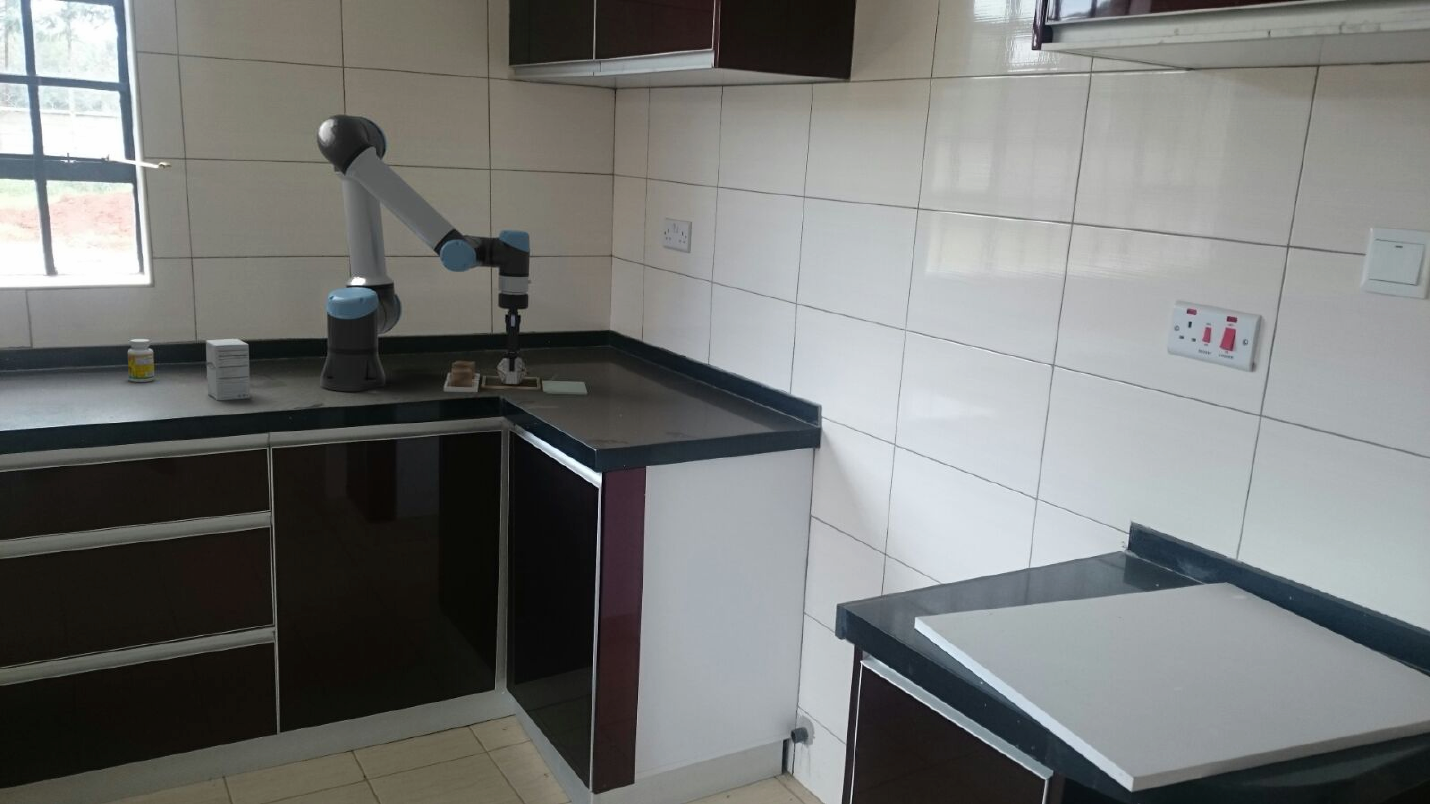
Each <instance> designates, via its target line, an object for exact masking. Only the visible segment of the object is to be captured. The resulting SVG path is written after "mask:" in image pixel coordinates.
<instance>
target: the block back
mask: <svg viewBox="0 0 1430 804" xmlns="http://www.w3.org/2000/svg"><path fill="white" fill-rule="evenodd" d="M475 368H476V361H466V360H456V361H455V362H453V363H452V364H451V369H470V370H471V371H472V379H475V374H476V369H475Z"/></svg>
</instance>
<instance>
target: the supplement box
mask: <svg viewBox="0 0 1430 804" xmlns="http://www.w3.org/2000/svg"><path fill="white" fill-rule="evenodd" d="M249 348H250V347H249V344H248V343H246V342H244V341H242V340H241V339H239V338H229V339H224V338H223V339H209V340H208V339H207V340H205V349H206V350H205V353H206V354H205V356H206V358H205V359H206V383H207V387H206V388H207V394H208V395H210V396H211V397H213V398H214V399H215V400H217V401H228V400H229V401H230V400H242V399H250V398H251V387H250V382H251V381H250V380H251V379H250V353H249V351H250V349H249Z"/></svg>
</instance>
